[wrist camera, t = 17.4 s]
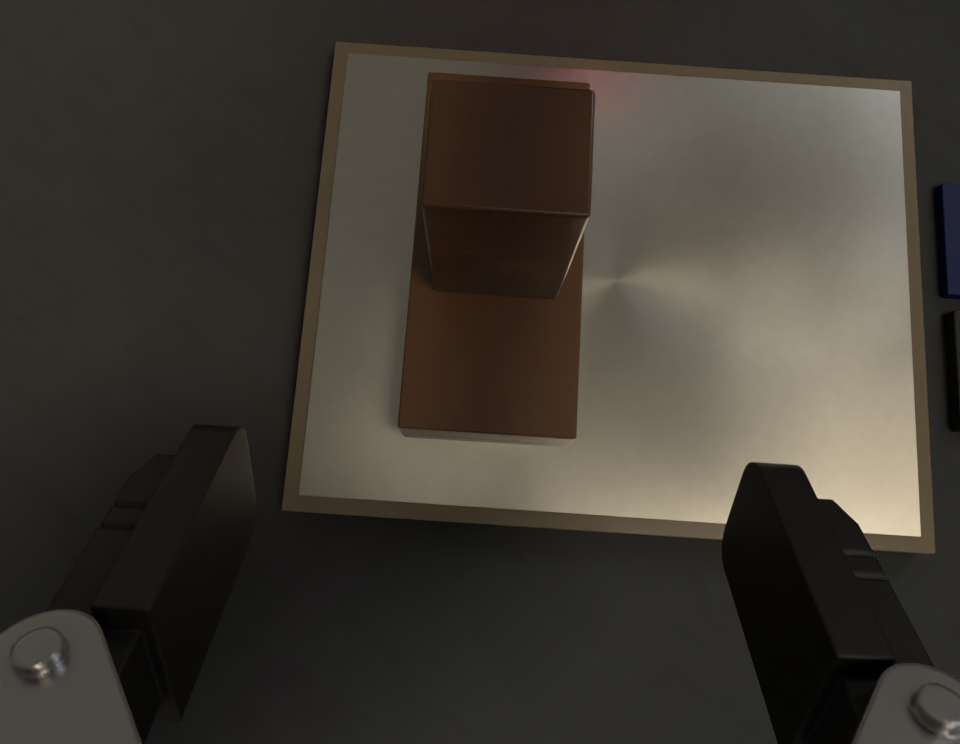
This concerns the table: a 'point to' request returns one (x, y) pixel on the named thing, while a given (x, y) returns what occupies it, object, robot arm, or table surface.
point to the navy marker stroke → (948, 239)
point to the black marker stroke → (954, 365)
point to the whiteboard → (642, 305)
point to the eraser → (498, 261)
